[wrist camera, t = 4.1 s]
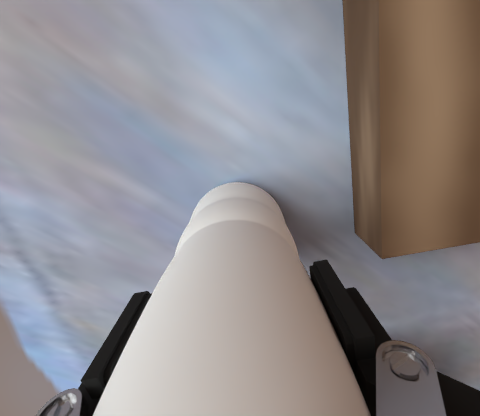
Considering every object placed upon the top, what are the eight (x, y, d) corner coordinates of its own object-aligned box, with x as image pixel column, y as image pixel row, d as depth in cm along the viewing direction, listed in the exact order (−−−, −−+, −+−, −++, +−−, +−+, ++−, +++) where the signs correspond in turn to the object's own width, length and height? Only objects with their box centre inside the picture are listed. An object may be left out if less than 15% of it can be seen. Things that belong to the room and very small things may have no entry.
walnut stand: (564, -105, 13) (695, -197, 9) (510, 204, 19) (577, 225, 15) (340, -47, 14) (377, -110, 10) (355, 232, 20) (381, 258, 16)
